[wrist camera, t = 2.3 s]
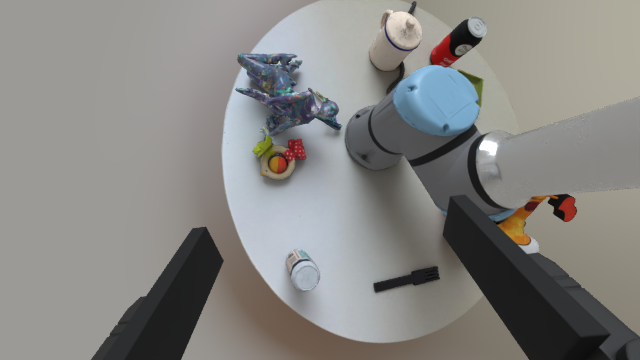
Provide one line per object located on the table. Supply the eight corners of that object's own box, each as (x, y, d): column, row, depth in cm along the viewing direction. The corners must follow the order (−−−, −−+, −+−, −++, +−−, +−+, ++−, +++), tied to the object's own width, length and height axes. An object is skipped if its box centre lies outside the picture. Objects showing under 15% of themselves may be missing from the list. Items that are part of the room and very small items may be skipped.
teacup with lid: (404, 69, 59) (436, 38, 48) (374, 75, 57) (400, 43, 46) (390, 27, 60) (418, -14, 49) (359, 31, 58) (382, -11, 46)
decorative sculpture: (535, 249, 60) (596, 138, 48) (561, 273, 53) (641, 149, 40) (456, 242, 62) (496, 132, 49) (471, 264, 54) (521, 142, 42)
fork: (373, 280, 51) (374, 281, 51) (436, 265, 55) (437, 266, 55) (374, 294, 51) (376, 295, 50) (438, 278, 55) (440, 279, 54)
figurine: (269, 149, 55) (249, 76, 53) (343, 129, 53) (324, 54, 52) (235, 144, 35) (201, 27, 33) (351, 113, 33) (321, -10, 32)
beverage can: (424, 56, 61) (461, 22, 50) (438, 44, 63) (476, 8, 51) (438, 74, 62) (478, 44, 50) (452, 62, 63) (493, 30, 52)
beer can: (285, 273, 47) (292, 295, 35) (285, 249, 47) (291, 263, 36) (308, 270, 48) (322, 291, 36) (307, 247, 49) (320, 261, 37)
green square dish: (448, 101, 62) (454, 98, 60) (451, 73, 63) (457, 68, 61) (474, 110, 63) (481, 107, 61) (477, 82, 65) (483, 78, 63)
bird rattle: (248, 175, 48) (253, 132, 48) (297, 180, 53) (302, 141, 53) (252, 178, 43) (258, 130, 42) (306, 183, 48) (312, 140, 47)
